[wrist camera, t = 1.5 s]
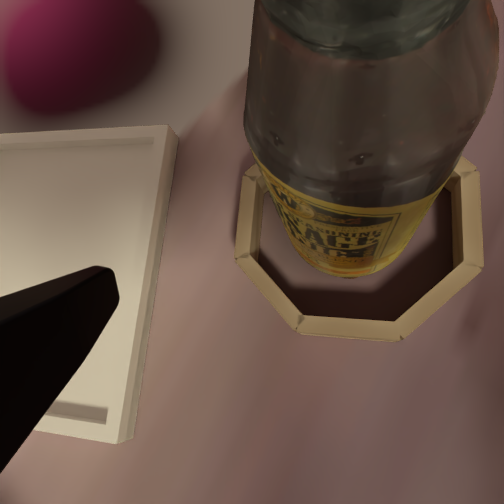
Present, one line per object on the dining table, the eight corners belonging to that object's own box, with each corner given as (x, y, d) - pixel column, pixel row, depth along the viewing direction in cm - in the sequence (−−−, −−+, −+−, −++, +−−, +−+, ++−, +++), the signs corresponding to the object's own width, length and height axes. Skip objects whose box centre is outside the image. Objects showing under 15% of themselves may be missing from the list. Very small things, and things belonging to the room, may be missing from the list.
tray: (133, 438, 22) (116, 444, 20) (-67, 405, 25) (-93, 408, 24) (178, 138, 26) (168, 124, 24) (3, 146, 29) (-16, 134, 28)
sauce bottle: (268, 234, 23) (-118, -347, 4) (342, 154, 23) (297, -754, 4) (360, 312, 20) (443, -193, 2) (441, 222, 21) (1278, -1085, 2)
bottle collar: (474, 348, 19) (487, 347, 17) (237, 329, 22) (226, 326, 20) (465, 128, 22) (476, 105, 20) (256, 137, 24) (248, 118, 23)
